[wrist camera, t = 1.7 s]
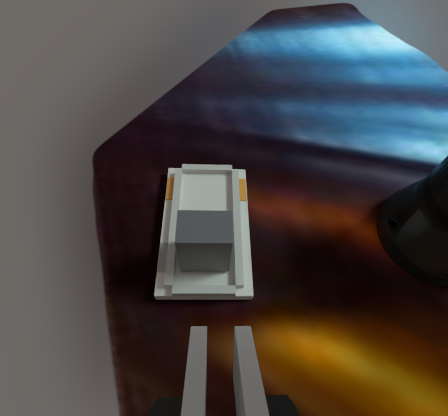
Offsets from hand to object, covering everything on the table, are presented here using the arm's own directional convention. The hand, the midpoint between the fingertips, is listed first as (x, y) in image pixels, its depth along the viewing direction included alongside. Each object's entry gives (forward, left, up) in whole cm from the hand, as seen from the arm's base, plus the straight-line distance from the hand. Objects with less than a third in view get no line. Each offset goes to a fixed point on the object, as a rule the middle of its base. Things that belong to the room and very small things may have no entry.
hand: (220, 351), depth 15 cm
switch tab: (-8, -11, -20) cm, 25 cm away
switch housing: (-11, -15, -22) cm, 29 cm away
